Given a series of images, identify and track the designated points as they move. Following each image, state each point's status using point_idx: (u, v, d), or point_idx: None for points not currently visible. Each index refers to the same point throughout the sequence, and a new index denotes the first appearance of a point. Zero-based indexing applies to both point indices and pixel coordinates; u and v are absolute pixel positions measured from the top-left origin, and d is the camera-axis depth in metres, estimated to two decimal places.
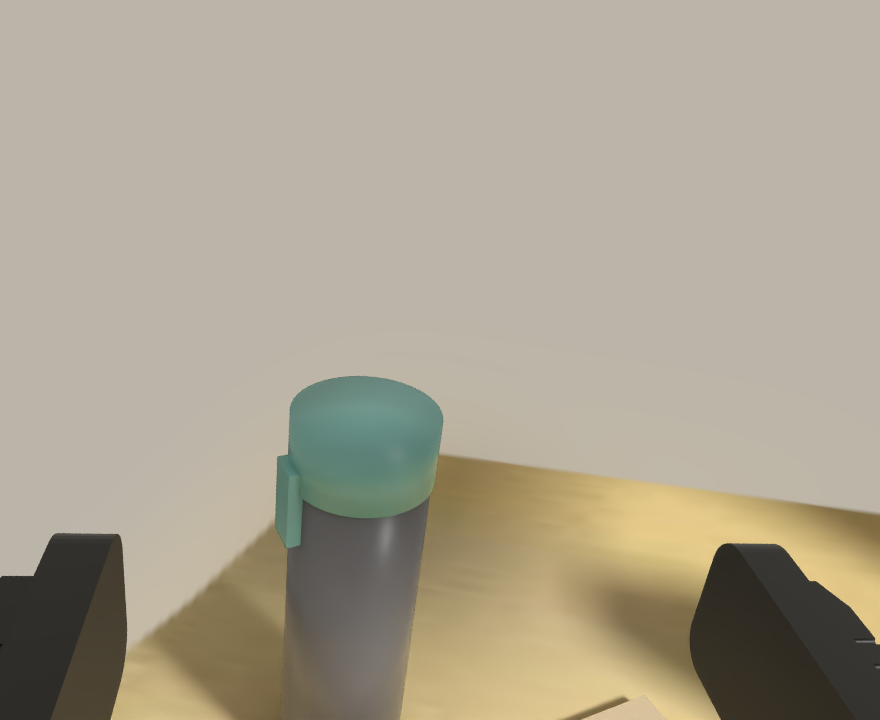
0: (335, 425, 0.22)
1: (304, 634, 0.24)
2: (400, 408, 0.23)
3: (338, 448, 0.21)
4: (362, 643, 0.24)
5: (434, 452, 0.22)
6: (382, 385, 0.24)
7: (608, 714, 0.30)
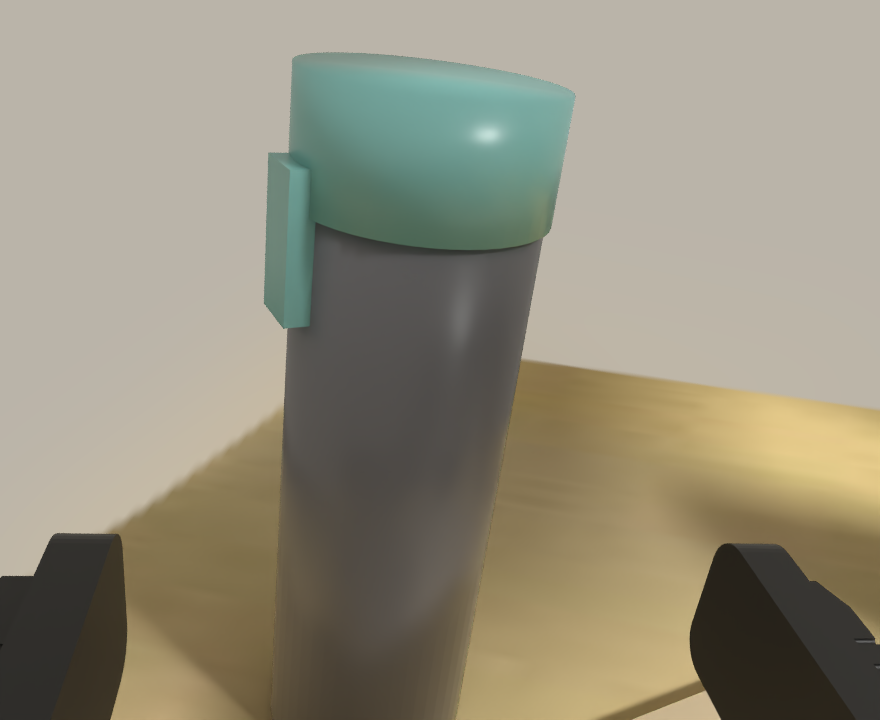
0: (379, 75, 0.11)
1: (314, 501, 0.14)
2: (493, 79, 0.13)
3: (390, 88, 0.10)
4: (418, 515, 0.13)
5: (562, 139, 0.12)
6: (456, 65, 0.14)
7: None
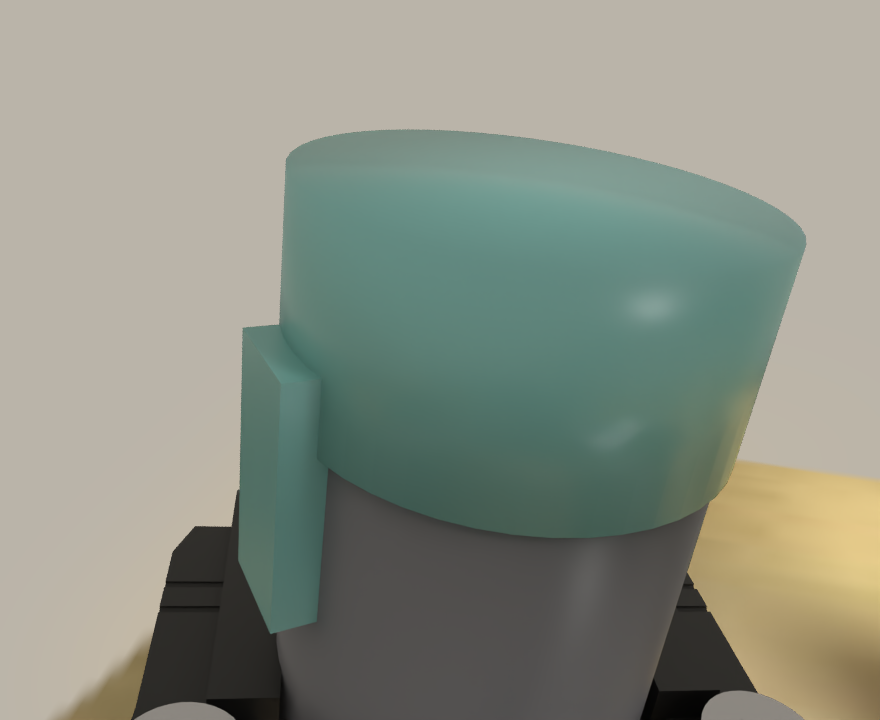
0: (452, 201, 0.06)
1: None
2: (637, 186, 0.07)
3: (487, 252, 0.05)
4: None
5: None
6: (556, 150, 0.08)
7: None
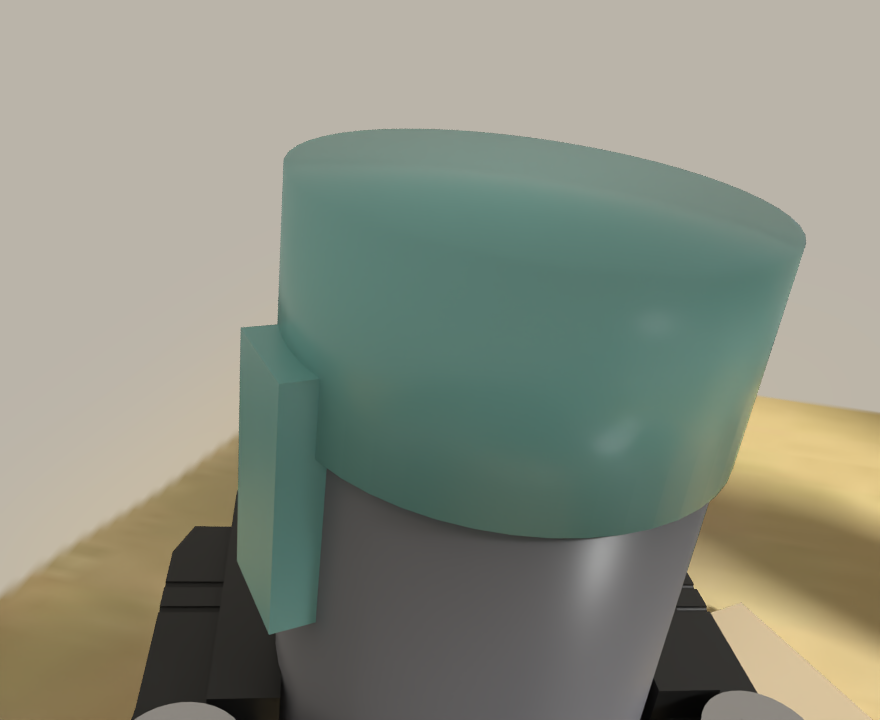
0: (450, 200, 0.06)
1: None
2: (636, 185, 0.07)
3: (485, 252, 0.05)
4: None
5: (783, 309, 0.06)
6: (554, 148, 0.08)
7: None
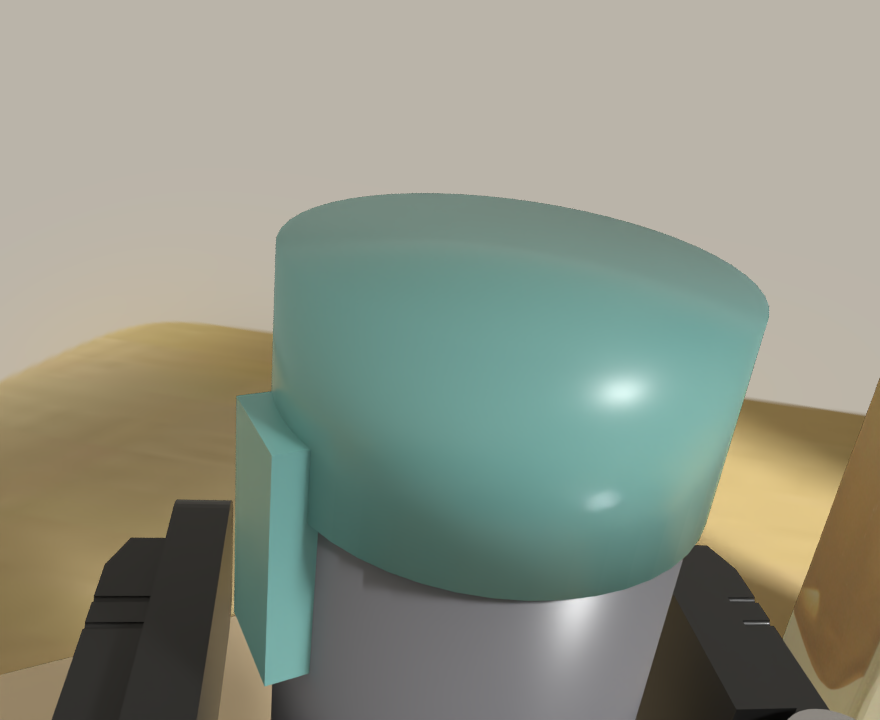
0: (432, 282, 0.06)
1: None
2: (612, 254, 0.08)
3: (462, 340, 0.05)
4: None
5: (749, 377, 0.07)
6: (537, 212, 0.09)
7: None
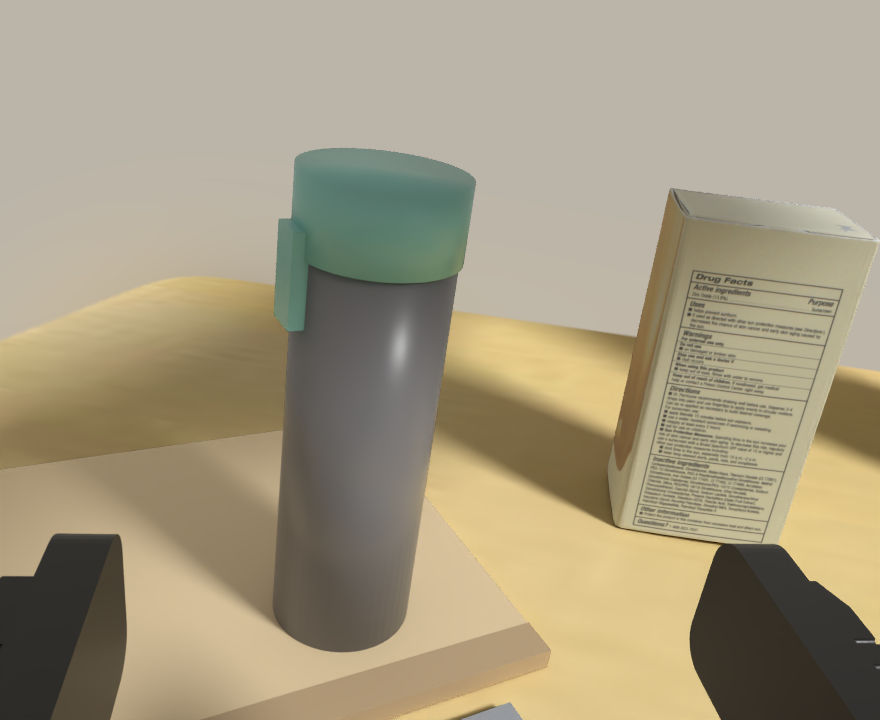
0: (350, 173, 0.18)
1: (306, 447, 0.20)
2: (424, 171, 0.20)
3: (354, 186, 0.17)
4: (375, 456, 0.20)
5: (466, 213, 0.19)
6: (402, 157, 0.21)
7: None
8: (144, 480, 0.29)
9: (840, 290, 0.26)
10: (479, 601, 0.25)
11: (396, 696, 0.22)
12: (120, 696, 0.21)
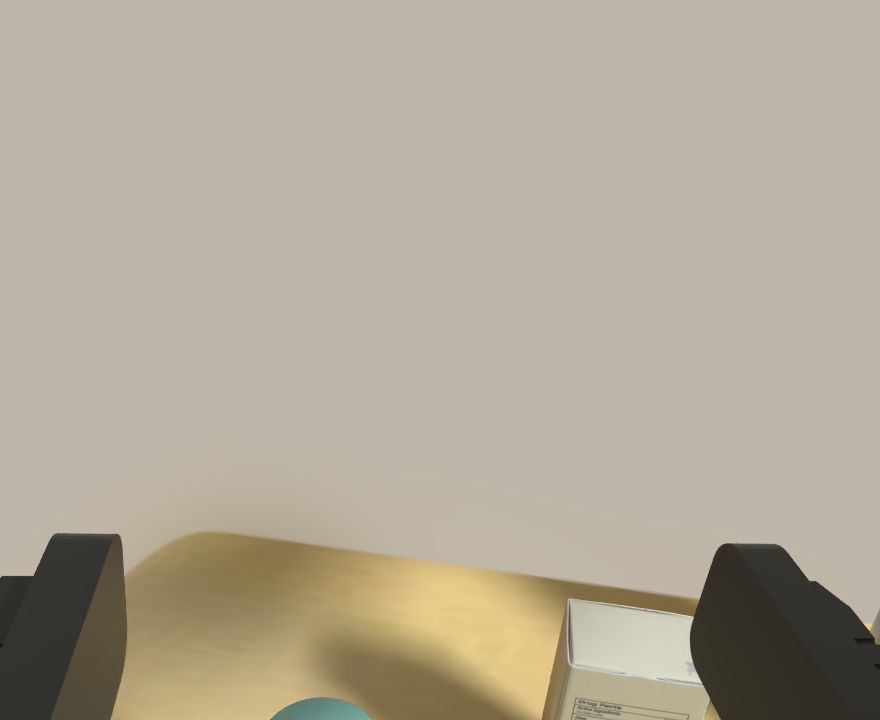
0: None
1: None
2: None
3: None
4: None
5: None
6: (335, 709, 0.29)
7: None
8: None
9: (686, 715, 0.35)
10: None
11: None
12: None
